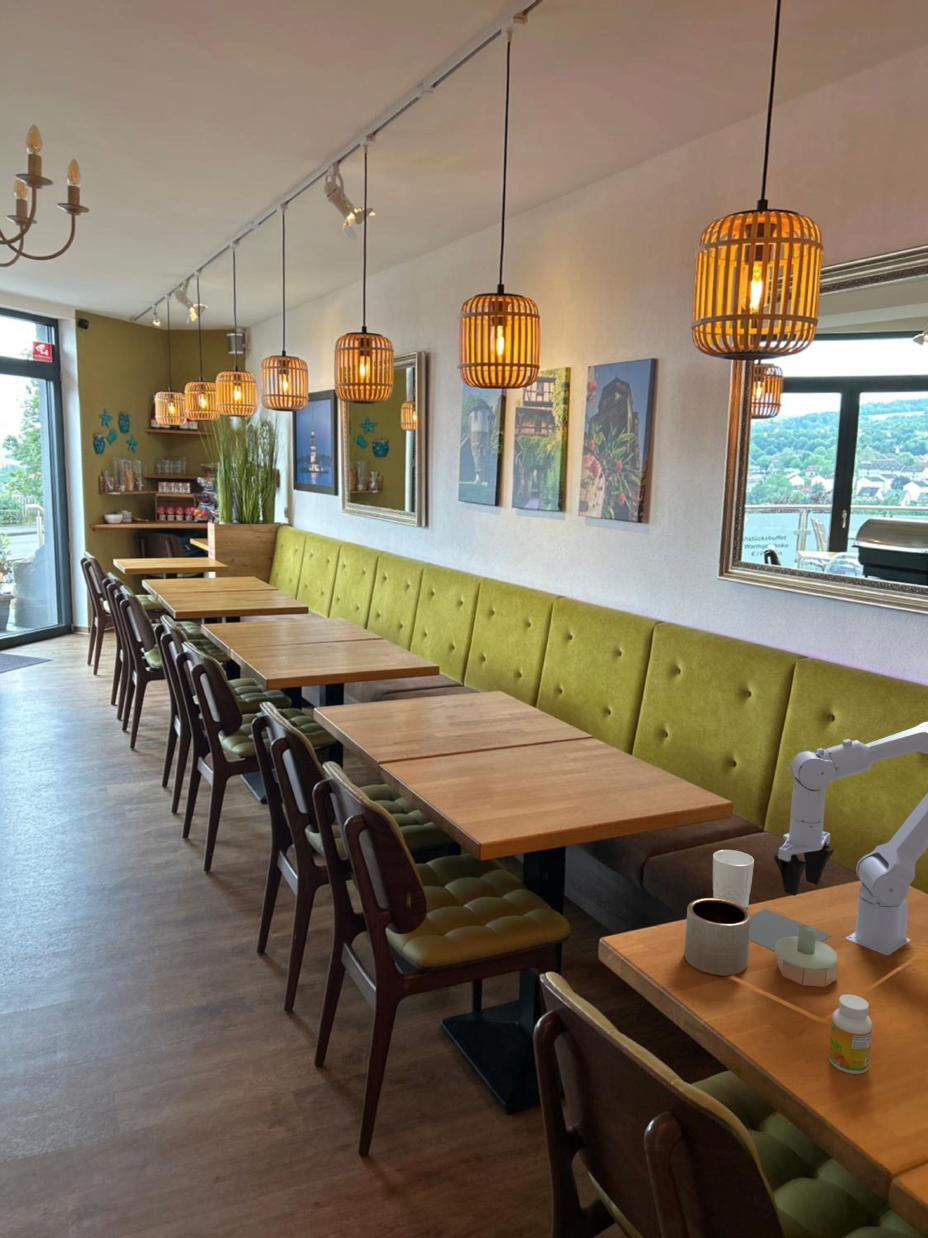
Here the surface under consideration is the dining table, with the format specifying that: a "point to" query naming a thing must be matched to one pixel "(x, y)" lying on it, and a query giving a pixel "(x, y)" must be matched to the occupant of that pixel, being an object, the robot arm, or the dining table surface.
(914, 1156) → the dining table surface
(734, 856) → the white cup
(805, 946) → the lid
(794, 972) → the bowl
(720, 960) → the planter
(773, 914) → the mat
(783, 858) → the robot arm
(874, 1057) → the dining table surface
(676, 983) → the dining table surface
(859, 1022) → the supplement bottle
